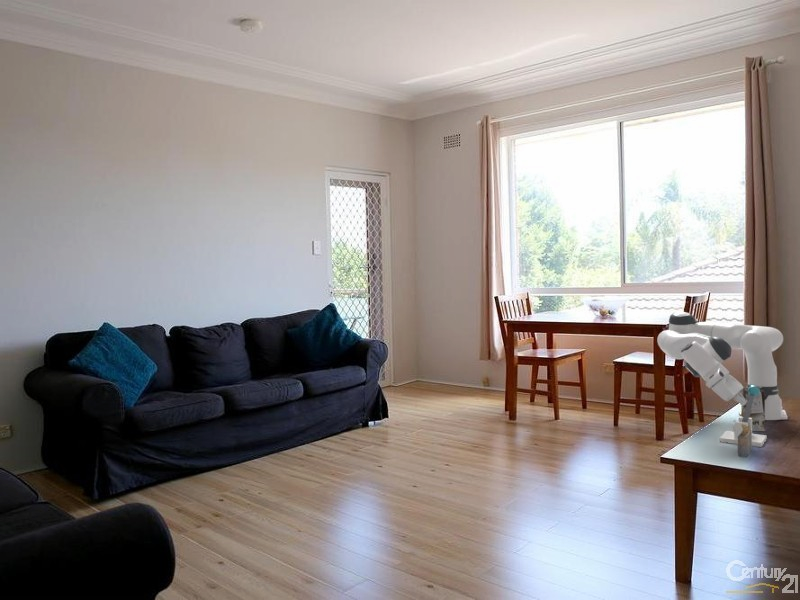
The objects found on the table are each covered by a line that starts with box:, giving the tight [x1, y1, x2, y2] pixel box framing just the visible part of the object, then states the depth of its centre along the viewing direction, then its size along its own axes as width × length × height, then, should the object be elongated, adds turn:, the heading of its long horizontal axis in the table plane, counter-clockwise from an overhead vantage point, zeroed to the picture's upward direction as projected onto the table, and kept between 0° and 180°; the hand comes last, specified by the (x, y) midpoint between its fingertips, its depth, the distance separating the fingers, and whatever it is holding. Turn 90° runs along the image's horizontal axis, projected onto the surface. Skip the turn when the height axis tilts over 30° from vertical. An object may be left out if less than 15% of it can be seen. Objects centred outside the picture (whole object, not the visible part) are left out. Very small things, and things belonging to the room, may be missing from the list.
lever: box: [742, 385, 760, 427], centre depth 245 cm, size 6×4×18 cm
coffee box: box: [740, 387, 766, 432], centre depth 262 cm, size 9×6×16 cm
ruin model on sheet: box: [737, 424, 753, 458], centre depth 231 cm, size 11×3×10 cm, turn 143°
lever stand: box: [719, 416, 768, 448], centre depth 246 cm, size 12×14×8 cm
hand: (745, 404), depth 245 cm, fingers closed, pressing on lever
